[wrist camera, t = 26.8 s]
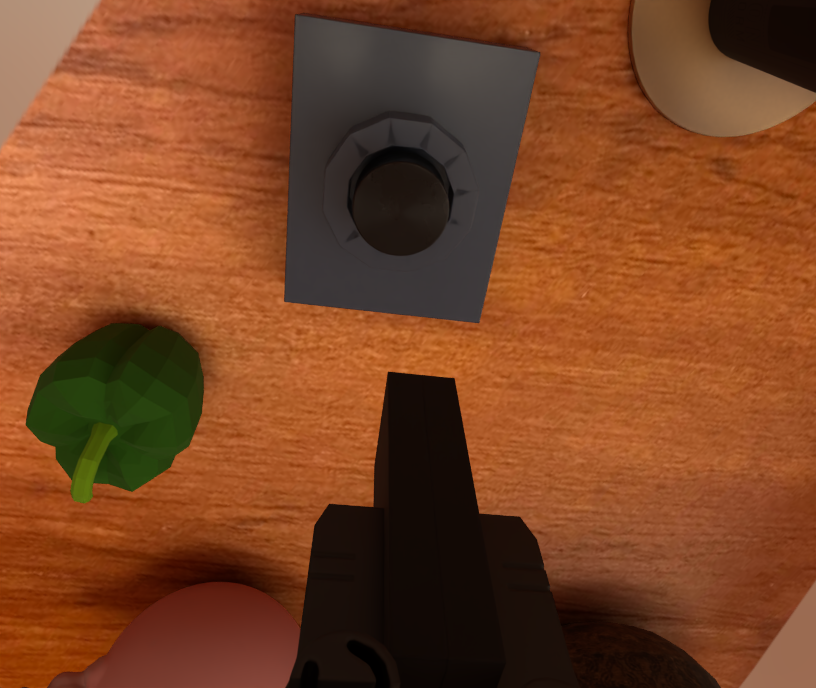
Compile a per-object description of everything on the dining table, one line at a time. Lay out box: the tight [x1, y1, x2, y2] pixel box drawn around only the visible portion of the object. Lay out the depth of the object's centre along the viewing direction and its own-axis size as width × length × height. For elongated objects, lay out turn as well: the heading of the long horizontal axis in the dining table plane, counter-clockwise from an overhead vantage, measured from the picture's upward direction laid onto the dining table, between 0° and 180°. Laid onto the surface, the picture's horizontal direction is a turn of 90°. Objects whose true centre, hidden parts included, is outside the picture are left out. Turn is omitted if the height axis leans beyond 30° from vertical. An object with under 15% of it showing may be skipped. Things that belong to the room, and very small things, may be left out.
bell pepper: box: [26, 323, 204, 503], centre depth 33 cm, size 8×8×10 cm
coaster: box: [628, 0, 816, 137], centre depth 28 cm, size 12×12×1 cm
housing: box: [284, 13, 540, 323], centre depth 30 cm, size 14×11×4 cm
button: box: [352, 151, 449, 256], centre depth 27 cm, size 4×4×2 cm
